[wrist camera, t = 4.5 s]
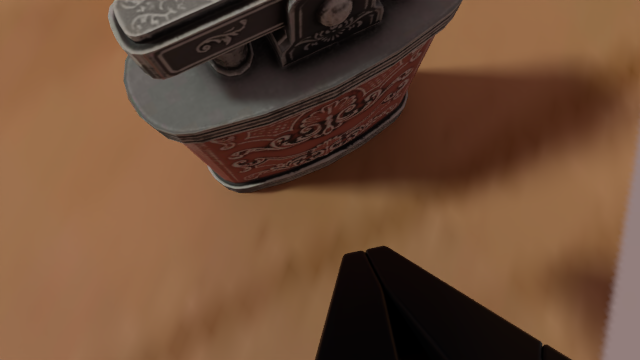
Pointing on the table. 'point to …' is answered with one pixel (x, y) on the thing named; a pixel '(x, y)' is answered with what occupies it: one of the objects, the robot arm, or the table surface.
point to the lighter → (272, 77)
